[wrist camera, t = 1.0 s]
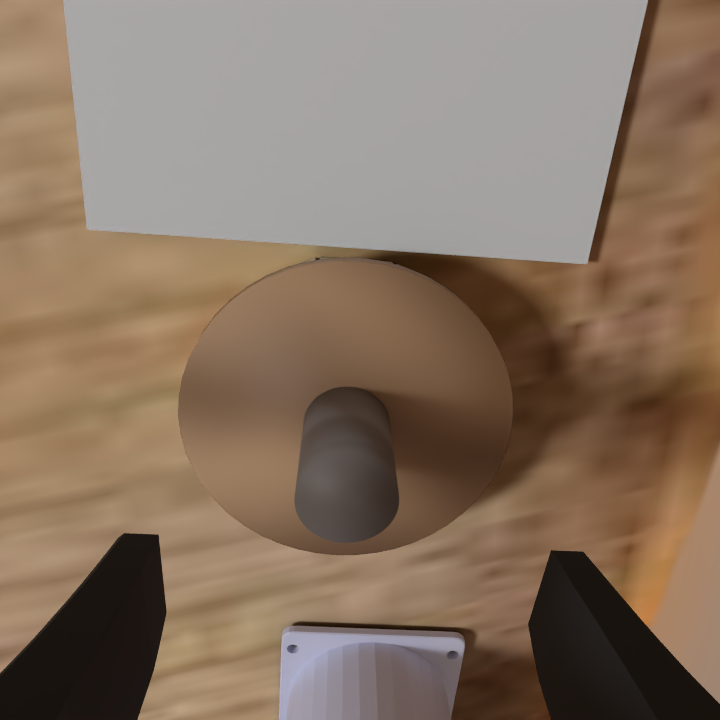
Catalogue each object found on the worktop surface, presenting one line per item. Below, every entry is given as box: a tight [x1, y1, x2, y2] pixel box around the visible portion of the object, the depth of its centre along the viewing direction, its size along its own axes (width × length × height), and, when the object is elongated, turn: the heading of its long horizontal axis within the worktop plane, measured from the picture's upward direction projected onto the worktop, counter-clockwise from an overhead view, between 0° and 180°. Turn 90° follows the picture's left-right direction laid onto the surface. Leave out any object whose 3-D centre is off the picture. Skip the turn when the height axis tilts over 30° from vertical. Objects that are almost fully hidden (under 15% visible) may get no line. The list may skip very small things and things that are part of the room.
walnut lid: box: [178, 258, 513, 555], centre depth 19 cm, size 11×11×5 cm
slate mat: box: [63, 0, 648, 264], centre depth 18 cm, size 12×16×1 cm
